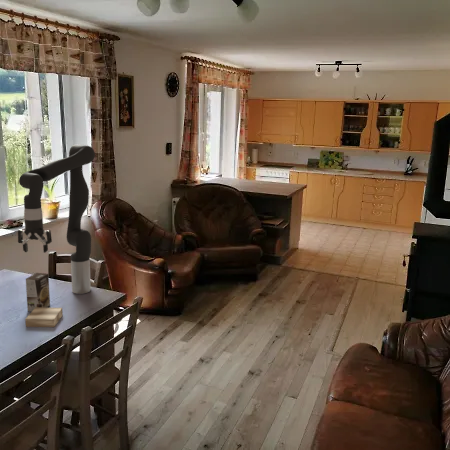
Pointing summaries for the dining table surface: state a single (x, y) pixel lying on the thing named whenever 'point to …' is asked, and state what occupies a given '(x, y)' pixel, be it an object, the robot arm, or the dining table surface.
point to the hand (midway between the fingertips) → (35, 252)
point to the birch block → (44, 317)
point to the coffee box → (37, 291)
